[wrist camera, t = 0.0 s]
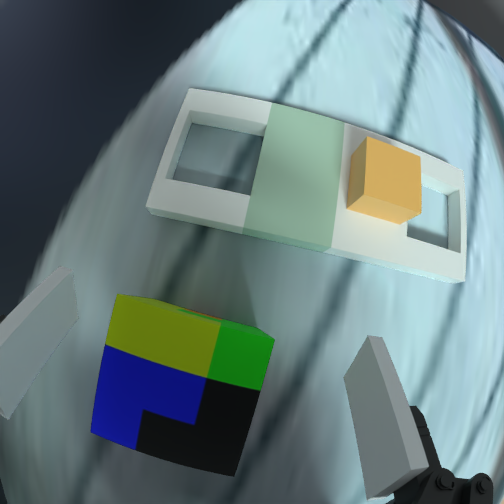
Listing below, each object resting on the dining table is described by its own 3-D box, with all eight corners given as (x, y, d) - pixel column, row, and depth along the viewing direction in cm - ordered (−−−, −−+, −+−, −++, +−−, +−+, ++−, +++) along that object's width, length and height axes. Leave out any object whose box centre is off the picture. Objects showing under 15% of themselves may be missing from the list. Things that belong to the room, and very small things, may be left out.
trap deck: (451, 283, 30) (464, 281, 28) (151, 214, 28) (145, 206, 26) (452, 177, 33) (463, 170, 30) (191, 101, 31) (189, 88, 29)
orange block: (399, 224, 28) (421, 213, 24) (346, 209, 28) (363, 194, 24) (401, 172, 29) (420, 156, 25) (351, 155, 29) (366, 136, 25)
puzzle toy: (130, 395, 25) (90, 432, 15) (153, 298, 27) (117, 293, 17) (230, 424, 26) (234, 476, 16) (257, 328, 28) (274, 339, 18)
